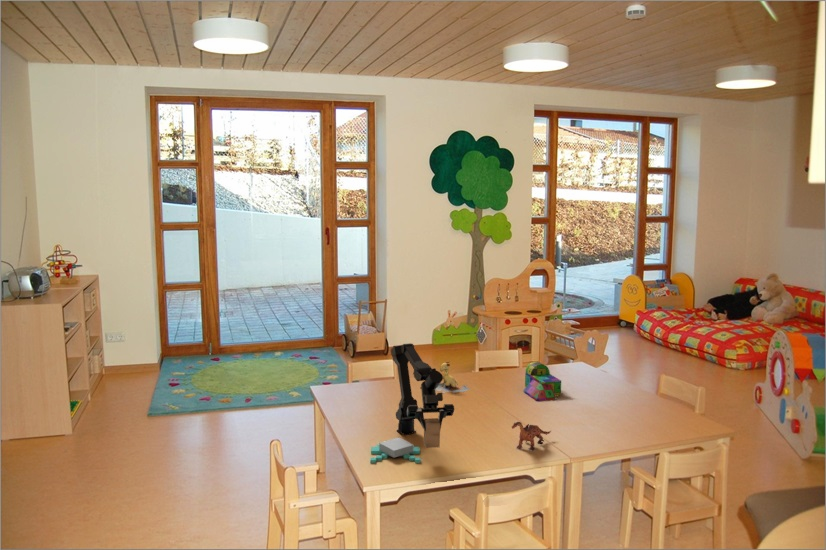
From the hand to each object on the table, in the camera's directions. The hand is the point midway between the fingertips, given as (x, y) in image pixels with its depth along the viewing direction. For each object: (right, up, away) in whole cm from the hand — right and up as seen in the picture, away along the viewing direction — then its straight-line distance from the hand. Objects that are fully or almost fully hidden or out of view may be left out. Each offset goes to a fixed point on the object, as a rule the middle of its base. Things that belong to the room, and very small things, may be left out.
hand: (432, 430), depth 260 cm
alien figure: (-15, -13, +11) cm, 23 cm away
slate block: (-15, -11, +10) cm, 21 cm away
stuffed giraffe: (+13, -1, +100) cm, 101 cm away
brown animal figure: (+42, -12, +19) cm, 47 cm away
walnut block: (0, -6, +2) cm, 7 cm away
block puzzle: (+61, -2, +94) cm, 112 cm away
